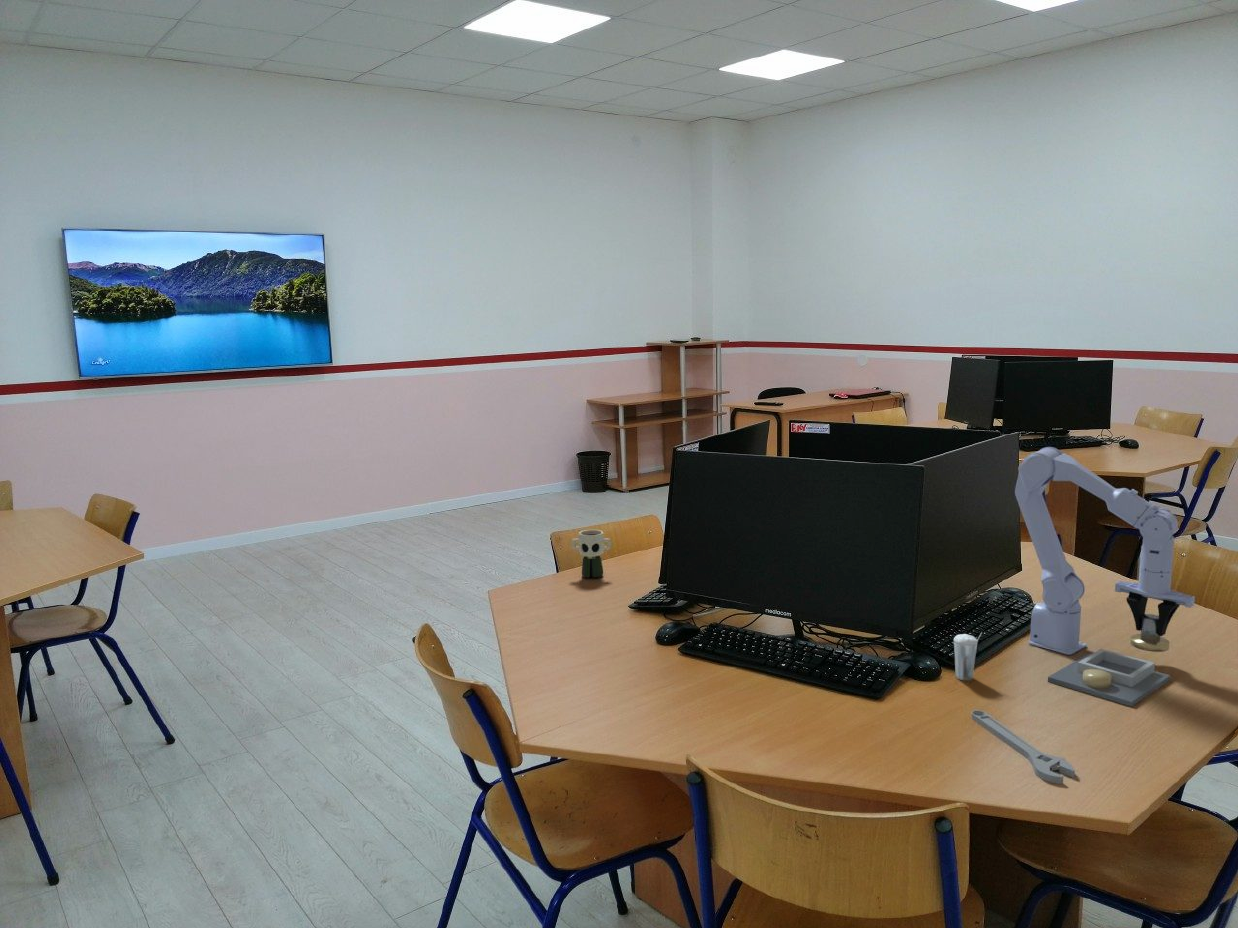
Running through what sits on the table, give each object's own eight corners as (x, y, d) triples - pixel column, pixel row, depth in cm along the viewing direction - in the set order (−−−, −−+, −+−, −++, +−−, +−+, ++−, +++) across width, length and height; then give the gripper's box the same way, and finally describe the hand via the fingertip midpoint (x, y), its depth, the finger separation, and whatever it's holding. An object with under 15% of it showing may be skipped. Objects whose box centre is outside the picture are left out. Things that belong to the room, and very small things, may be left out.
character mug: (572, 580, 264) (570, 535, 261) (575, 572, 271) (573, 529, 268) (610, 579, 263) (608, 535, 260) (612, 572, 270) (611, 529, 267)
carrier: (1047, 681, 187) (1048, 667, 186) (1088, 657, 198) (1089, 644, 198) (1131, 706, 175) (1132, 691, 174) (1170, 679, 186) (1171, 665, 185)
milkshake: (982, 682, 187) (984, 636, 186) (954, 681, 188) (955, 634, 187) (978, 673, 192) (980, 628, 190) (950, 672, 193) (952, 626, 191)
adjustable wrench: (967, 718, 173) (967, 709, 173) (999, 715, 174) (1000, 706, 174) (1046, 786, 149) (1047, 776, 149) (1083, 782, 150) (1084, 772, 150)
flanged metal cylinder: (1124, 645, 193) (1126, 616, 192) (1138, 636, 198) (1141, 608, 197) (1160, 654, 188) (1163, 625, 187) (1174, 645, 192) (1177, 617, 191)
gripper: (1202, 572, 187) (1196, 636, 189) (1127, 557, 198) (1122, 618, 200) (1188, 579, 182) (1183, 645, 185) (1112, 564, 194) (1107, 626, 196)
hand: (1150, 631), depth 192 cm, fingers closed on flanged metal cylinder, 4 cm apart
